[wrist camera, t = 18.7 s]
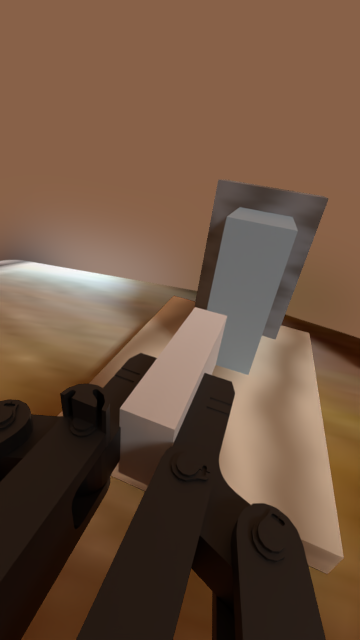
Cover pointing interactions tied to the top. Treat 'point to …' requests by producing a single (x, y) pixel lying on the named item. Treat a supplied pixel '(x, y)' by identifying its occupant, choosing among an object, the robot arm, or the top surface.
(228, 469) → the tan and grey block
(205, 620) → the top surface
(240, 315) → the boxed book
